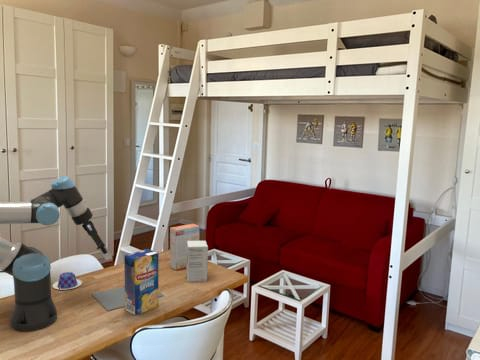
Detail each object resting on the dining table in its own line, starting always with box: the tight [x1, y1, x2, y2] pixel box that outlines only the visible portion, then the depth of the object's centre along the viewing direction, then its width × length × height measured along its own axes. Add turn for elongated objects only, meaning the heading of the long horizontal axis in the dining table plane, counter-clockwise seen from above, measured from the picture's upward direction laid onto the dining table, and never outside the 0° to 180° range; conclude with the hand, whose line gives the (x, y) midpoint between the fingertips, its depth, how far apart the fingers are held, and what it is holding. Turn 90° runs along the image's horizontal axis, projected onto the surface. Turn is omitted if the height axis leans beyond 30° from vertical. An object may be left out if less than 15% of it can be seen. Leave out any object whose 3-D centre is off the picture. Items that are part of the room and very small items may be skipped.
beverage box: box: [123, 248, 159, 316], centre depth 158 cm, size 7×11×22 cm, turn 140°
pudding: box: [52, 271, 83, 291], centre depth 179 cm, size 12×12×5 cm
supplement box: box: [185, 240, 209, 283], centre depth 191 cm, size 10×9×17 cm
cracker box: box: [169, 223, 200, 271], centre depth 205 cm, size 14×6×21 cm, turn 130°
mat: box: [91, 285, 165, 312], centre depth 171 cm, size 24×18×1 cm
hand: (105, 253), depth 172 cm, fingers open, 13 cm apart
